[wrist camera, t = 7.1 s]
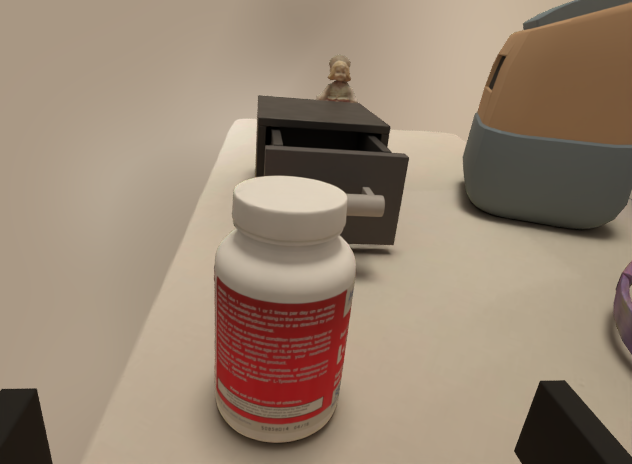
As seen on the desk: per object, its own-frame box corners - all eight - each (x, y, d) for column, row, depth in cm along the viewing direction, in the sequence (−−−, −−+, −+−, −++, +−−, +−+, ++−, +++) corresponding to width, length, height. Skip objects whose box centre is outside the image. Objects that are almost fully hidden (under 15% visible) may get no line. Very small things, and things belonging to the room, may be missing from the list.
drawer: (408, 269, 35) (427, 173, 32) (261, 266, 33) (266, 164, 30) (361, 193, 51) (370, 124, 48) (260, 188, 49) (263, 117, 46)
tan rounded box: (456, 176, 64) (496, -4, 55) (581, 196, 61) (648, 7, 52) (458, 216, 50) (514, -23, 40) (624, 245, 46) (728, -9, 37)
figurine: (301, 155, 65) (302, 49, 64) (288, 159, 75) (289, 66, 73) (371, 157, 68) (373, 55, 66) (350, 161, 77) (352, 71, 76)
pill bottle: (354, 437, 21) (391, 218, 16) (220, 460, 19) (221, 222, 15) (317, 351, 26) (338, 169, 22) (210, 363, 25) (209, 168, 20)
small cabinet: (376, 218, 47) (390, 126, 43) (254, 214, 45) (258, 116, 41) (350, 176, 60) (359, 103, 56) (255, 171, 58) (258, 95, 54)
